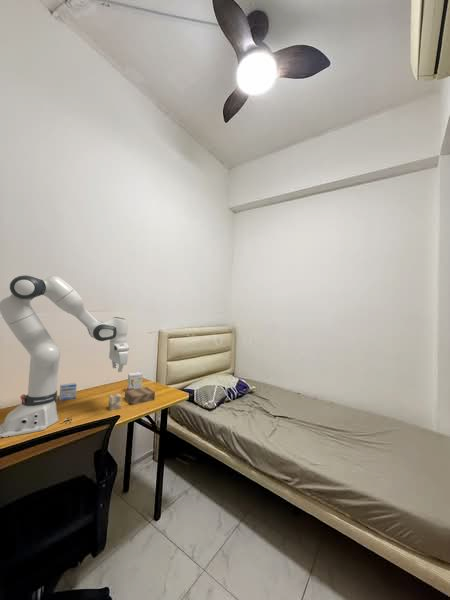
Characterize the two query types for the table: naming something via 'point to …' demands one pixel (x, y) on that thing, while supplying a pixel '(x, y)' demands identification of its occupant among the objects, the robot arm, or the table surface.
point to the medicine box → (67, 391)
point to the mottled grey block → (115, 402)
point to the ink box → (134, 381)
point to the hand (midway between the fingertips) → (117, 369)
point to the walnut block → (139, 395)
